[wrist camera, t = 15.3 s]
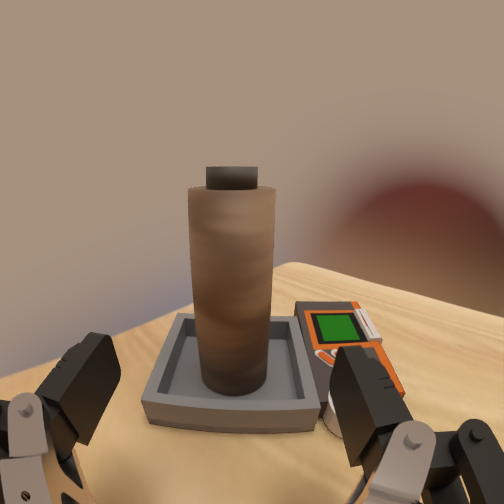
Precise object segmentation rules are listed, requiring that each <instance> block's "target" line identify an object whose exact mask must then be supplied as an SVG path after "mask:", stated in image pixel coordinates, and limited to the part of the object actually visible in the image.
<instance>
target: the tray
mask: <svg viewBox="0 0 504 504" xmlns="http://www.w3.org/2000/svg"><path fill="white" fill-rule="evenodd" d="M141 402H142V405H143V408H144V410H145V413H146V415H147V418H148V421H149V423H151V424H156V425H162V426H168V427H175V428H183V429H191V430H201V431H212V432H228V433H289V432H304V431H313V430H314V427H315V424H316V421H317V418H318V415H319V412H320V409H321V406H320V402H319V398H318V394H317V390H316V387H315V383H314V379H313V375H312V371H311V367H310V364H309V360H308V356H307V352H306V348H305V345H304V341H303V337H302V334H301V330H300V326H299V323H298V319H297V316H270V332H269V348H268V364H267V377H266V380H265V382H264V384H263V385H262V386H261V387H260V388H259V389H258V390H256V391H254V392H252V393H250V394H247V395H243V396H225V395H221V394H218V393H216V392H214V391H212V390H210V389H209V388H208V387H207V386H206V385H205V384H204V382H203V380H202V376H201V368H200V360H199V352H198V343H197V334H196V324H195V314H188V313H177V315H176V318H175V320H174V322H173V324H172V327H171V329H170V331H169V333H168V336H167V338H166V340H165V342H164V345H163V347H162V349H161V352H160V354H159V356H158V359H157V361H156V363H155V366H154V368H153V370H152V373H151V375H150V378H149V380H148V383H147V385H146V387H145V390H144V392H143V395H142V397H141Z"/></svg>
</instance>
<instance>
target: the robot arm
mask: <svg viewBox="0 0 504 504" xmlns="http://www.w3.org/2000/svg"><path fill="white" fill-rule="evenodd" d="M120 376H121V369H120V365H119V361H118V358H117V355H116V352H115V348H114V345H113V342H112V339H111V337H110V336H109V335H105V334H99V333H94V332H90V333H89V334H88V335H87V336H86V337H85V338H84V340H83V341H82V342H81V343H78V344H76V345H75V346H73V347H72V348H70V349H69V350H68V351H67V352H66V353H65V354H64V355H63V357H62V358H61V360H59V362H58V363H57V364H56V367H55V368H53V369H52V371H51V372H50V373H49V375H48V376H47V377H46V378H45V380H44V381H43V382H42V384H41V385H40V386H39V388H38V389H37V390H36V392H35V393H34V394H33V393H21V394H19V395H17V396H16V397H14V398H13V399H12V400H11V401H5V400H0V504H97V502H96V501H95V500H94V498H93V497H92V495H91V493H90V491H89V489H88V486H87V484H86V481H85V478H84V475H83V472H82V469H81V466H80V463H79V460H78V456H77V453H76V450H75V449H74V445H75V443H76V442H78V443H81V444H84V445H86V446H88V444H89V442H90V440H91V438H92V436H93V433H94V431H95V429H96V427H97V425H98V423H99V421H100V419H101V417H102V415H103V413H104V411H105V409H106V407H107V405H108V403H109V401H110V399H111V397H112V395H113V393H114V391H115V389H116V387H117V385H118V383H119V381H120ZM329 390H330V396H331V399H332V402H333V406H334V409H335V413H336V416H337V420H338V423H339V427H340V430H341V434H342V437H343V441H344V445H345V448H346V452H347V456H348V459H349V463H350V467H355V466H359V465H362V467H363V471H364V472H363V474H362V475H361V477H360V479H359V481H358V482H357V484H356V486H355V488H354V489H353V491H352V493H351V495H350V496H349V498H348V499H347V501H346V503H345V504H422V503H420V502H419V499H420V495H421V496H422V500H423V503H424V504H469V501H468V499H467V496H466V493H465V490H464V487H463V485H462V482H461V480H460V477H459V476H462V478H463V481H464V484H465V486H466V489H467V492H468V494H469V497H470V504H504V452H503V451H502V449H501V447H500V445H499V443H498V441H497V439H496V437H495V436H494V434H493V432H492V430H491V429H490V427H489V426H488V425H487V424H486V423H485V422H483V421H481V420H478V419H470V420H467V421H465V422H464V423H463V424H462V425H461V426H460V428H459V429H458V430H457V431H448V432H434V431H433V430H432V429H431V428H430V427H429V426H428V425H427V424H425V423H423V422H420V421H414V420H413V418H412V416H411V414H410V412H409V410H408V408H407V406H406V404H405V403H404V401H403V399H402V397H401V395H400V393H399V391H398V390H397V388H395V384H394V382H393V380H392V379H390V375H389V373H388V371H387V370H386V368H385V366H384V365H382V364H381V363H380V362H379V361H378V360H376V359H375V358H368V357H367V355H366V353H365V351H364V349H363V347H362V346H361V345H353V346H340V347H339V348H338V350H337V353H336V357H335V361H334V365H333V369H332V373H331V376H330V381H329Z"/></svg>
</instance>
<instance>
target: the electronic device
mask: <svg viewBox="0 0 504 504" xmlns="http://www.w3.org/2000/svg"><path fill="white" fill-rule="evenodd" d="M294 316H297V319H298V323H299V326H300V330H301V334H302V337H303V341H304V345H305V348H306V352H307V356H308V360H309V364H310V367H311V371H312V375H313V379H314V383H315V387H316V390H317V394H318V398H319V402H320V406H321V409H320V412H319V415H318V418H323V420H324V423H325V424H326V426H327V428H328V429H329V430H330V431H331V432H332V433H334V434H335V435H336V436H338V437H340V438H343V437H342V434H341V430H340V427H339V423H338V420H337V416H336V413H335V409H334V406H333V402H332V399H331V396H330V390H329V381H330V376H331V373H332V369H333V365H334V361H335V357H336V353H337V350H338V348H339V347H340V346H353V345H361V346H362V347H363V349H364V351H365V353H366V355H367V357H368V358H375V359H376V360H378V361H379V362H380V363H381V364H382V365H384V366H385V368H386V370H387V371H388V373H389V375H390V379H392V380H393V382H394V384H395V388H397V390H398V391H399V393H400V395H401V397H402V398H403V397H404V395H405V391H404V389H403V387H402V385H401V383H400V381H399V379H398V377H397V375H396V373H395V371H394V369H393V367H392V365H391V363H390V361H389V359H388V357H387V355H386V353H385V352H384V350H383V348H382V346H381V343H382V341H383V340H382V338H381V336H380V334H379V332H378V331H377V329H376V327H375V325H374V324H373V322H372V320H371V318H370V317H369V315H368V313H367V311H366V310H365V309H361V308H360V306H359V304H358V303H357V301H355V302H300V301H296V303H295V311H294Z"/></svg>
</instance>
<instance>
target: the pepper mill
mask: <svg viewBox="0 0 504 504" xmlns="http://www.w3.org/2000/svg"><path fill="white" fill-rule="evenodd" d="M257 177H258V167H206V186H204V187H203V186H202V187H194V188H189V189H188V216H189V241H190V260H191V276H192V288H193V301H194V313H195V324H196V334H197V343H198V352H199V360H200V368H201V376H202V380H203V382H204V384H205V385H206V386H207V387H208V388H209V389H210V390H212V391H214V392H216V393H218V394H221V395H225V396H243V395H247V394H250V393H252V392H254V391H256V390H258V389H259V388H260V387H261V386H262V385H263V384H264V382H265V380H266V377H267V364H268V348H269V332H270V314H271V295H272V274H273V250H274V225H275V195H276V193H275V192H276V189H275V188H271V187H263V186H257Z"/></svg>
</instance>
